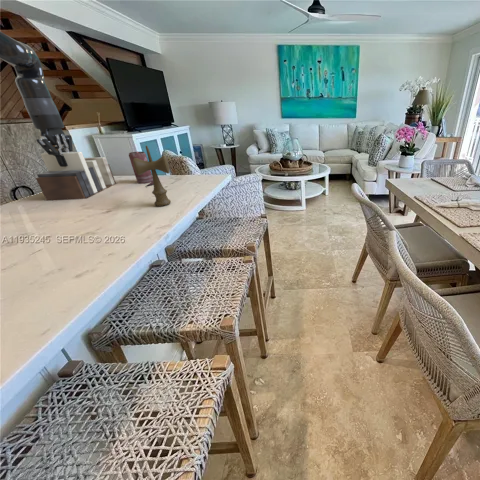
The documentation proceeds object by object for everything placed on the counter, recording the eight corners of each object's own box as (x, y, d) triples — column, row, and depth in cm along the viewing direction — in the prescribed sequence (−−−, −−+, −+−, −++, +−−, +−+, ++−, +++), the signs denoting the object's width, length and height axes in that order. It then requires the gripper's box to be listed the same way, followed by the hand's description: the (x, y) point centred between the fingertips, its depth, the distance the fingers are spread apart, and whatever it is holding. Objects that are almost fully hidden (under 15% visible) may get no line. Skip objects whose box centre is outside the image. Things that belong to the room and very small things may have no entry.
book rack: (45, 204, 94) (27, 169, 89) (84, 187, 114) (71, 157, 108) (88, 202, 96) (73, 167, 91) (119, 186, 116) (109, 156, 110)
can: (152, 182, 121) (143, 150, 115) (155, 185, 117) (146, 152, 110) (137, 184, 118) (126, 152, 111) (139, 187, 113) (129, 153, 107)
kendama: (177, 205, 93) (162, 145, 84) (146, 209, 90) (126, 147, 81) (178, 200, 98) (164, 143, 89) (149, 203, 95) (130, 145, 86)
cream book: (59, 195, 100) (40, 153, 93) (63, 193, 101) (44, 152, 95) (94, 193, 101) (77, 152, 94) (97, 191, 103) (81, 151, 96)
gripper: (47, 112, 94) (68, 162, 102) (13, 113, 82) (40, 170, 90) (70, 112, 95) (89, 161, 103) (40, 113, 83) (65, 169, 91)
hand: (66, 165), depth 96 cm, fingers closed on cream book, 2 cm apart
